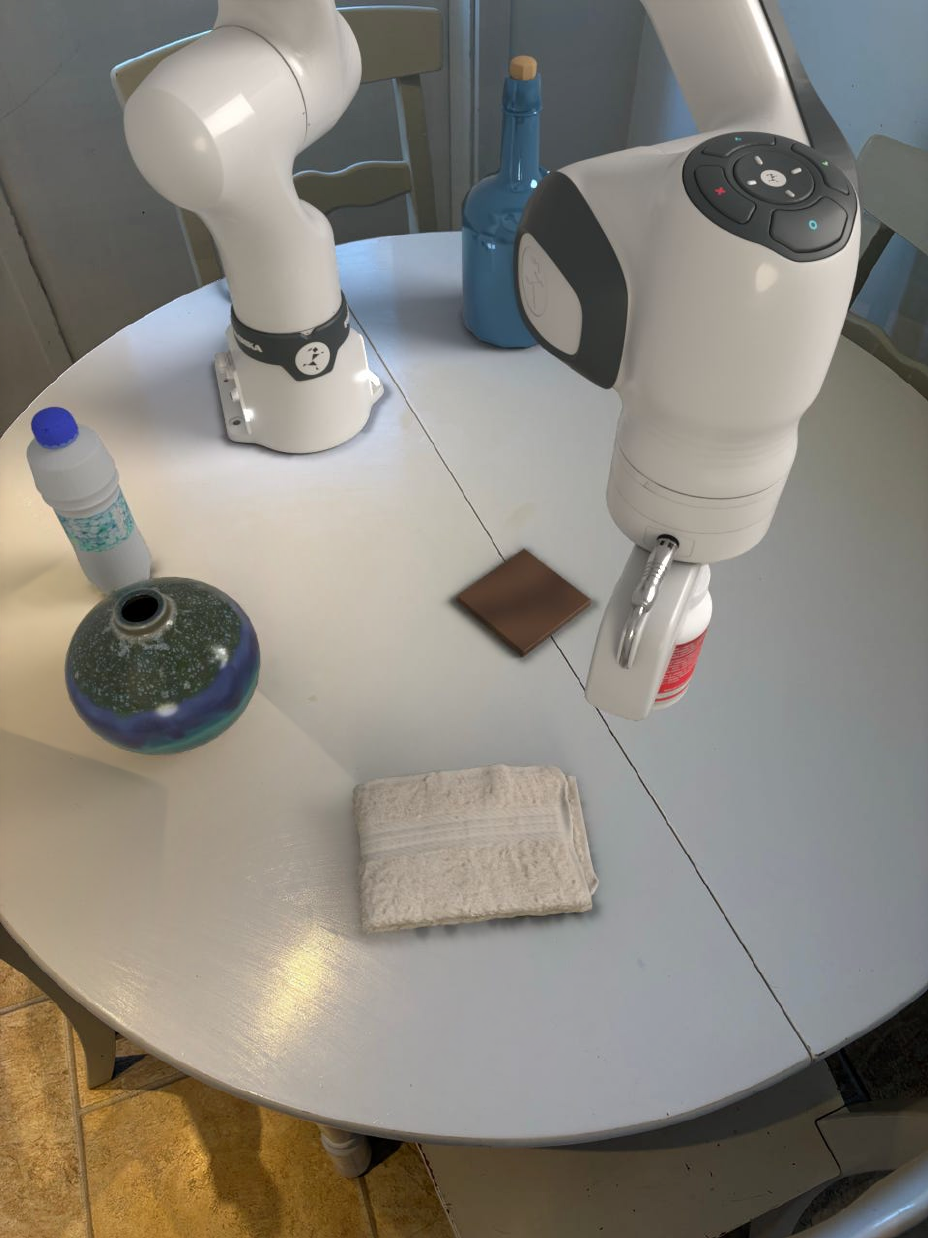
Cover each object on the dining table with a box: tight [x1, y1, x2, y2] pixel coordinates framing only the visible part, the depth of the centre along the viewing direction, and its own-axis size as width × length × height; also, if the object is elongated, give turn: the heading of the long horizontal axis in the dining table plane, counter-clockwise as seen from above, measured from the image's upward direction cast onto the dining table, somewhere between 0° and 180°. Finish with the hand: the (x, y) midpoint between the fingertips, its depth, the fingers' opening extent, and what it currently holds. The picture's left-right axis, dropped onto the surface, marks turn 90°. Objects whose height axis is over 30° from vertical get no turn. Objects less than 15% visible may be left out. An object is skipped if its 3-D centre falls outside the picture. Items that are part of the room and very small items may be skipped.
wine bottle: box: [460, 55, 550, 348], centre depth 102 cm, size 14×13×30 cm
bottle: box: [25, 406, 153, 596], centre depth 79 cm, size 7×7×20 cm
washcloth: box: [352, 763, 601, 935], centre depth 68 cm, size 12×18×3 cm, turn 97°
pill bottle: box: [611, 564, 713, 711], centre depth 56 cm, size 6×6×11 cm
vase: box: [63, 576, 262, 756], centre depth 73 cm, size 15×15×13 cm
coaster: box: [456, 548, 592, 657], centre depth 84 cm, size 9×9×1 cm
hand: (652, 638), depth 58 cm, fingers closed on pill bottle, 6 cm apart
